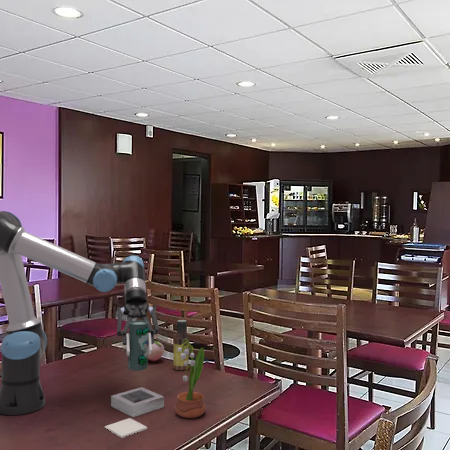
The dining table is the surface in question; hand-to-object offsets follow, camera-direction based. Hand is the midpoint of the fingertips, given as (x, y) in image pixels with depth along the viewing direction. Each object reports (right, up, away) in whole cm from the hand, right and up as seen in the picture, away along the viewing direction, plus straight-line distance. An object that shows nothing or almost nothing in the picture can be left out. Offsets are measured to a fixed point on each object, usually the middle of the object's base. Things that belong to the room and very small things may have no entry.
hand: (139, 352), depth 166 cm
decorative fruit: (-3, -17, +54) cm, 56 cm away
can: (-1, -6, +4) cm, 7 cm away
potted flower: (+16, -20, -2) cm, 25 cm away
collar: (-1, -19, +4) cm, 19 cm away
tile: (-2, -19, -13) cm, 23 cm away
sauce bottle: (+10, -18, +45) cm, 50 cm away
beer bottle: (-11, -17, +72) cm, 74 cm away
